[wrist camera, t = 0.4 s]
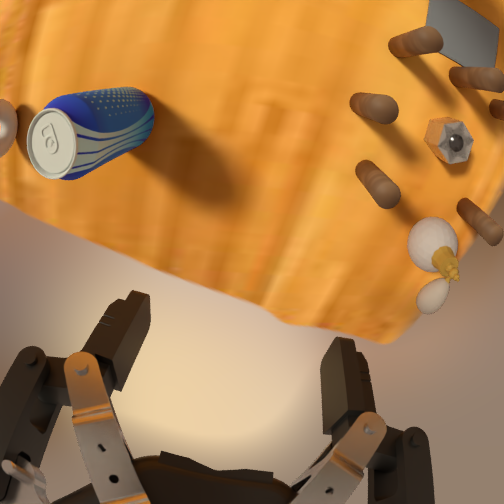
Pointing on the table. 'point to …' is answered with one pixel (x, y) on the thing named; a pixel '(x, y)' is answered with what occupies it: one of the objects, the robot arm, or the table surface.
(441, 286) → the perfume bottle
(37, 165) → the beer can
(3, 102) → the donut
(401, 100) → the table surface
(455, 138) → the nut
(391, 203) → the post field
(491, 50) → the felt mat
